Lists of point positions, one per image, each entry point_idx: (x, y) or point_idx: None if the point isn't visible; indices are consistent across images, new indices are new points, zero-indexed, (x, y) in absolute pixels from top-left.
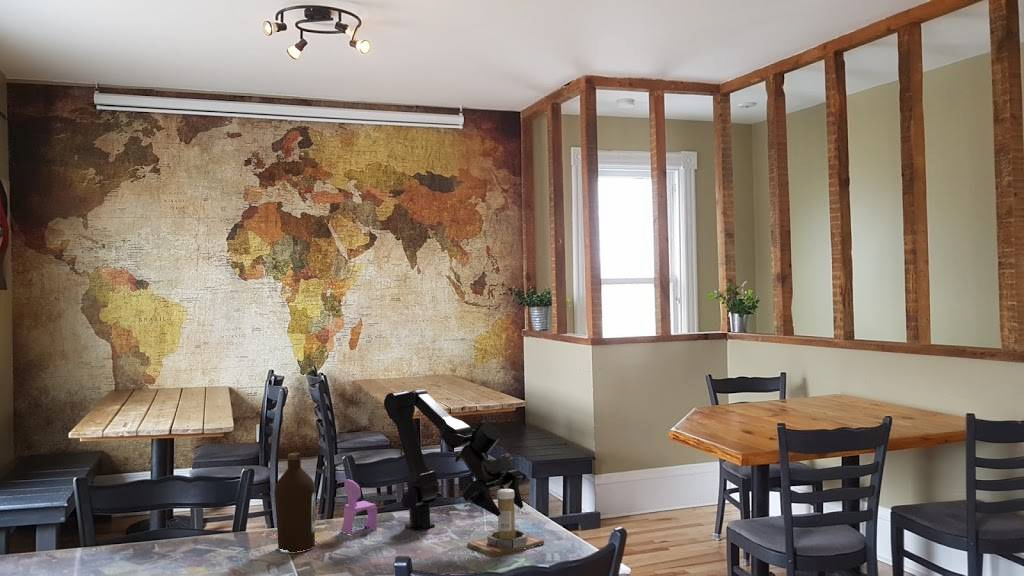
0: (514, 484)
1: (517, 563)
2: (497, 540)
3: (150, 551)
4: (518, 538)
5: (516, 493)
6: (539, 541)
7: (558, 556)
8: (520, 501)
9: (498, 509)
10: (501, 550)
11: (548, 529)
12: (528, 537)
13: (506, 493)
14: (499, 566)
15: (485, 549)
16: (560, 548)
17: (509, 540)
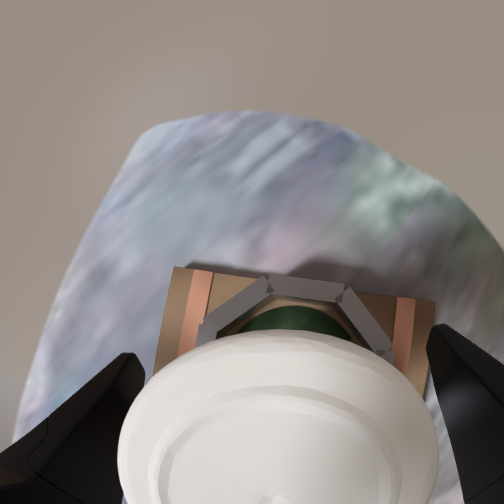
0: (2, 491)
1: (407, 187)
2: (391, 343)
3: None
4: (304, 284)
5: (68, 442)
6: (195, 269)
7: (258, 141)
8: (112, 378)
9: (452, 347)
10: (397, 299)
11: (52, 374)
12: (181, 345)
13: (390, 364)
14: (463, 211)
15: (425, 365)
16: (185, 192)
17: (356, 295)
